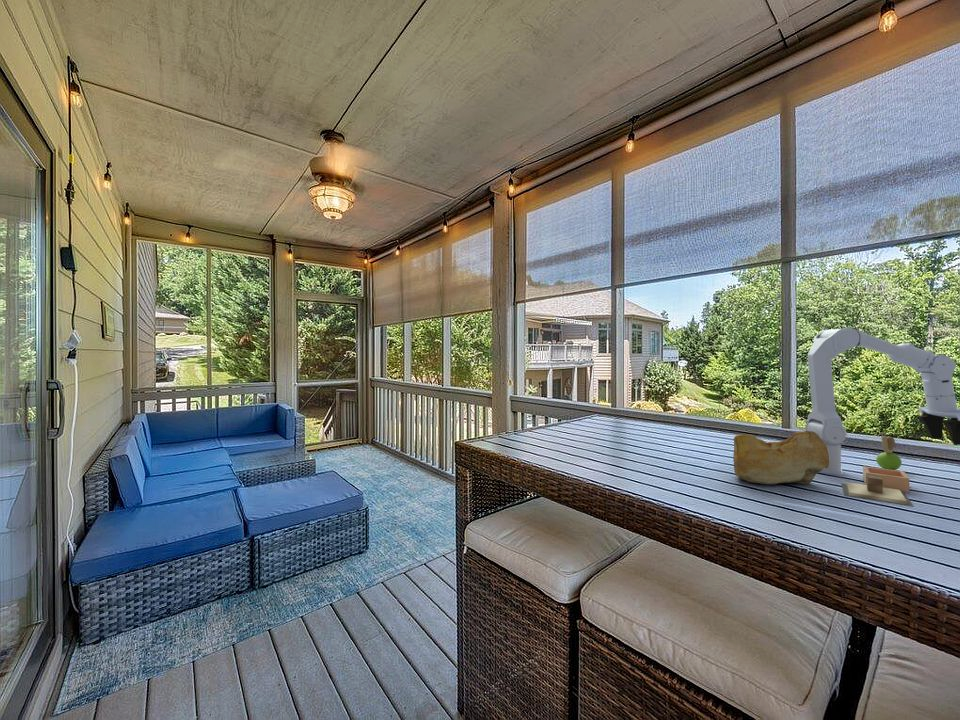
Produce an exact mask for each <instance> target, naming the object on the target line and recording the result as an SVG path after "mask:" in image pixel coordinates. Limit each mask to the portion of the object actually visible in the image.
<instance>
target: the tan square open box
mask: <svg viewBox="0 0 960 720" xmlns="http://www.w3.org/2000/svg"><path fill="white" fill-rule="evenodd" d="M867 475H869V476H877V477H881V478H882V479H883V487H884V488H891V489H897V490H900V491H901V492H903V493H910V477H909V476H908V475H907V473H906V472H905V471H904V470H898V469H896V470H889V469H884V468H882V467H872V466H864V465H863V466H862V480H863V483H864V485H867Z"/></svg>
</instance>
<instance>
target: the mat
mask: <svg viewBox="0 0 960 720" xmlns="http://www.w3.org/2000/svg"><path fill="white" fill-rule="evenodd" d="M840 484H841V488H842V492H843V496H844V497H850V498H857V499H861V500H862V499H863V500H868V501H874V502H881V503H889V504H893V505H900V506H906V507H911V508H914V507H915V506H914V504H913V503H912V501H911V500H910V499H909V497H908V495H907V494H906V492H902V491H901V493H902V494H903V496H904V497H905V499H906V500H907V504H901V503H894V502H888V501H882V500H876V499H869V498H863V497H857V496H851V495H849V492H848V489H847V485H846V483H840Z"/></svg>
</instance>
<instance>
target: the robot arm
mask: <svg viewBox="0 0 960 720" xmlns="http://www.w3.org/2000/svg"><path fill="white" fill-rule="evenodd" d="M855 347H861V348H864V349H865V348H866V349H868V350H872V351H874V352H878V353H881V354H884V355H887V356H888V357H889V360H890V361H892V362H894V363H898V364H901V365H903V366H907V367H909V368H912V369H913V370H914V371H915V372H917V373H920V376H921V381H922V386H923V392H924V397H925V398H924V399H925V404H926V406H919V407H918V411H919V414H920V415H917V416H916V418H917V419H918V420H919V421H920V422H921V423H922V424H923V425H924V427H925V429H926V430H927V432H928V434H929V436H930V438H931V439H932V440H941V439H943V438H944V437H943V435H944V434H943V433H944V432H943V426H945V427H946V429H947V431H948V433H949V436H950V439H951V442H952V444H953V445H955V446H959V445H960V408H959V407H958V405H957V401H956V394H955V390H954V383H953V378H954V374H953V373H954V371H955V369H956V368H957V363H956V362H954V361H953V359H952V358H951V357H950V356H948V355H946V354H935V353H934V352H933V350H930V349H926V350H925V349H923V348H922V349H921V348H919V347H916V346H915V344H914V343H911V342H909V343H899V344H894V343H893V342H889V341H886V340H884V339H882V338H879V337H877V336H874V335H871V334H869V333H866V332H864V331H862V330H857V329H854V328H851V327H844V328H836V329H824V330H822V331H820V332H819V333H818V334H816V335H815V336H814V337H813V343H812V345H811V347H810V349H809V351H808V353H807V365H808V374H809V375H808V377H809V387H810V388H809V389H810V400H811V409H812V410H811V411H810V412H809V414H808V415H807V422H806V424H805V427H804V431H813V432H815V433H816V434H818V435H819V437H820V439H821V440H823V441H824V443H825V445H826V447H827V451H828V455H829V466H828V468H824V469H823V470H822V471H820V472H819V473H821V474H822V473H823V474H830V475H838V476H844V472H843V468H842V450H841V449H842V443H843V442H844V441H845V440H846V438H847V430H846V428H845V426H843V422H842V419H841V418H842V417H840V416H839V414H838V412H836V401H835V390H834V379H833V378H834V377H833V368H832V360H834V359H835V358H836V357H837V356H838V355H840V354H842V353H843V352H846V351H848V350H851V349H854V348H855ZM921 414H922V415H921ZM945 418H947V419H945Z"/></svg>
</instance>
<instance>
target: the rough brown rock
mask: <svg viewBox="0 0 960 720" xmlns="http://www.w3.org/2000/svg"><path fill="white" fill-rule="evenodd" d="M732 458H733V468H734V469H733V471H734V474H735V476H736V477H737V478H739V479H741V480H744V481H746V482H748V483H753V484H763V485H777V484H784V483H786V484H787V483H796V484H801V485H809V484H810V483H812V481H813V480H814V478H815V477H816V475H817V474H818V473H821V472H820V471H822V470H823V469H824V468H828V466H829V455H828V451H827V447H826V445H825V443H824V441H823V440H821V439H820V437H819V435H818V434H816V433H815V432H813V431H806V430H802V431H801V430H800V431H795V432H793V433H792V434H791V435H790V436H789V437H788V438H787V439H783V440H780V441H771V442H770V441H769V442H768V441H765V440H764V439H760V438H759V437H757V436H755V435H753V434H736V435H735V436H734V437H733V457H732Z"/></svg>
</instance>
